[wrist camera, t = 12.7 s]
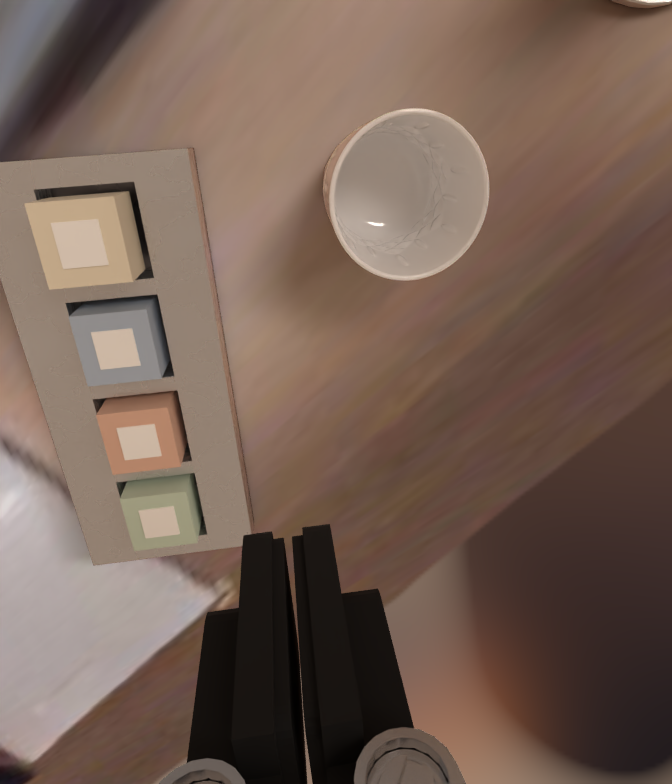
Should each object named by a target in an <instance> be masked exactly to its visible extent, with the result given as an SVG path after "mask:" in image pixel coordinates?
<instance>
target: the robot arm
mask: <svg viewBox="0 0 672 784" xmlns="http://www.w3.org/2000/svg"><path fill="white" fill-rule="evenodd" d="M612 1H613V2H616V3H619V4H622V5H626V6H629V7H637V8H653V7H659V6H665V5H669V4H672V0H612ZM302 529H303V535H301V536H293V537H292V543H293V558H294V573H295V588H296V603H297V619H298V634H299V649H300V663H299V650H298V640H297V632H296V625H295V617H294V610H293V603H292V595H291V588H290V581H289V573H288V566H287V559H286V551H285V544H284V538H278V539H273V534H272V532H265V533H257V534H249V535H244V536H243V546H242V563H241V580H240V597H239V608H235V609H228V610H221V611H214V612H208V613H207V615H206V620H205V625H204V633H203V641H202V649H201V657H200V664H199V672H198V680H197V688H196V696H195V703H194V711H193V719H192V727H191V735H190V742H189V750H188V758H187V763H186V764H184V765H182V766H180V767H178V768H176V769H174V770H173V771H172V772H171V773H170V774H168V775H167V776H166V777H165V778H163V779H162V780H161V781H160V783H159V784H307V773H306V758H305V741H304V726H303V710H302V696H301V679H302V694H303V709H304V721H305V729H306V730H305V731H306V739H307V746H308V753H309V760H310V768H311V774H312V782H313V784H466V783H465V780H464V778H463V776H462V774H461V772H460V770H459V768H458V765H457V763H456V761H455V760H454V758H453V757H452V755H451V754H450V752H449V750H448V749H447V747H445V746H444V745H443V744H442V743H441V742H440V741H439V740H437V739H436V738H435V737H434V736H432V735H430V734H428V733H425V732H424V731H422V730H419V729H414V726H413V722H412V719H411V714H410V711H409V707H408V703H407V699H406V695H405V691H404V687H403V683H402V679H401V675H400V671H399V667H398V663H397V659H396V655H395V652H394V647H393V644H392V640H391V635H390V631H389V627H388V624H387V620H386V616H385V612H384V608H383V604H382V600H381V596H380V593H379V590H378V589H372V590H365V591H358V592H350V593H343V594H341V588H340V582H339V576H338V570H337V564H336V558H335V552H334V546H333V540H332V534H331V528H330V524H326V525H319V526H311V527H303V528H302ZM300 664H301V679H300Z"/></svg>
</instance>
